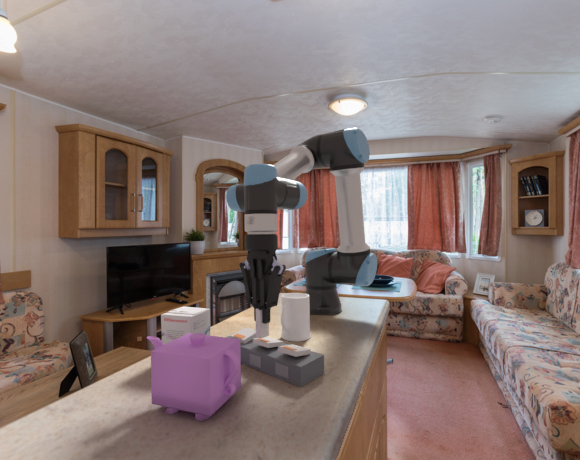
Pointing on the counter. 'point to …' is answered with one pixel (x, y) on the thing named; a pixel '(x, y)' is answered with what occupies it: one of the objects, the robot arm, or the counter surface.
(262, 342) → the rocker
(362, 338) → the counter surface
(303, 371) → the power strip
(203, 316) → the ink box
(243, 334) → the rocker
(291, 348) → the rocker
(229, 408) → the counter surface
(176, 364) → the teapot
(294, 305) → the mug
